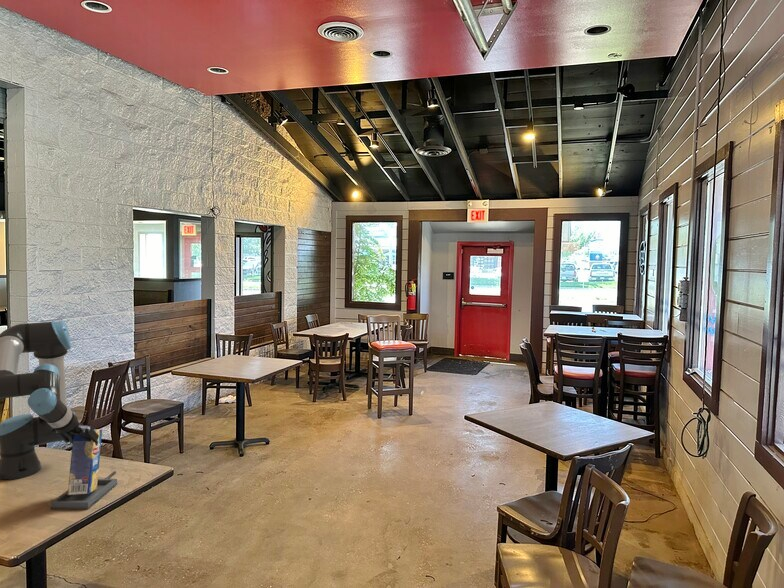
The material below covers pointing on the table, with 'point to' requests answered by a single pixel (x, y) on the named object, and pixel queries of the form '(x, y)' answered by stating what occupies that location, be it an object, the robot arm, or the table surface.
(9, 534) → the table surface
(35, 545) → the table surface
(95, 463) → the beverage box
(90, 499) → the grey tray with handle
